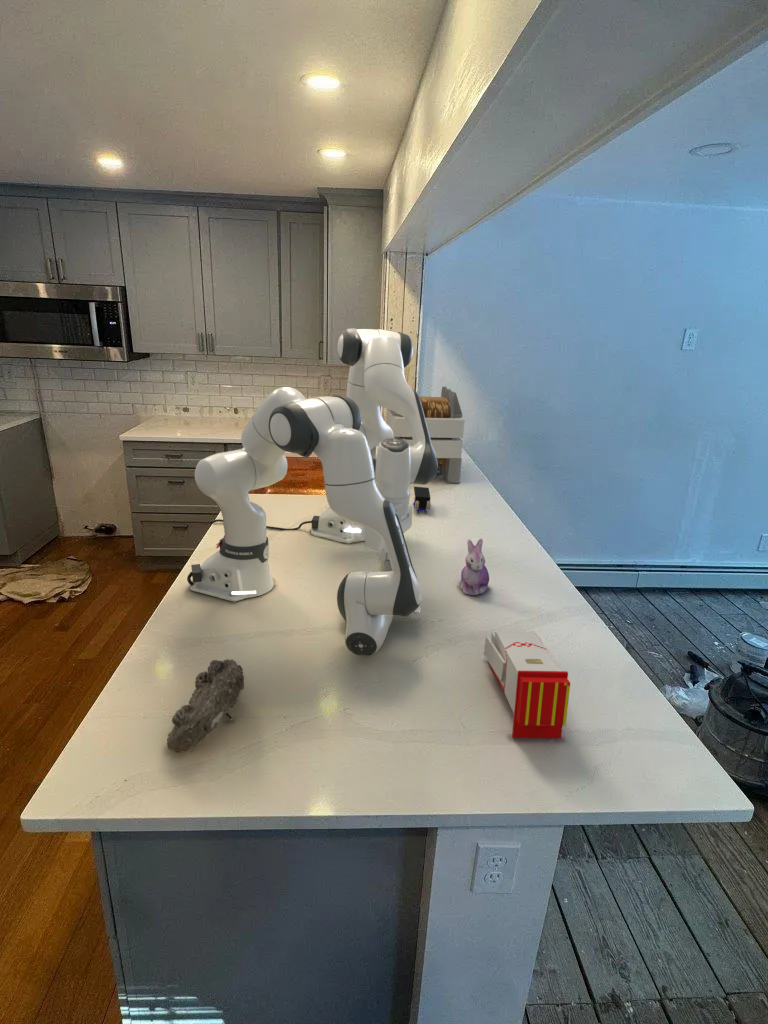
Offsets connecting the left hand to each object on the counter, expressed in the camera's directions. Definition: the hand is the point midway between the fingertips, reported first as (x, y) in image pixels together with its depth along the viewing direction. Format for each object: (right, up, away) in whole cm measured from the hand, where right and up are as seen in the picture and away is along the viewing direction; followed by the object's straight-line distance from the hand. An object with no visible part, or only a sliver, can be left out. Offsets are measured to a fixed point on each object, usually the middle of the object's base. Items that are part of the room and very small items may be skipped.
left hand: (387, 585), depth 151 cm
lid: (0, +10, -5) cm, 11 cm away
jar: (0, -5, +1) cm, 6 cm away
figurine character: (+14, +20, +74) cm, 78 cm away
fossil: (-34, -20, -43) cm, 58 cm away
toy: (+27, -18, -32) cm, 46 cm away
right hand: (0, +8, -4) cm, 9 cm away
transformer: (+16, +38, +124) cm, 131 cm away
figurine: (+25, -3, +12) cm, 28 cm away
